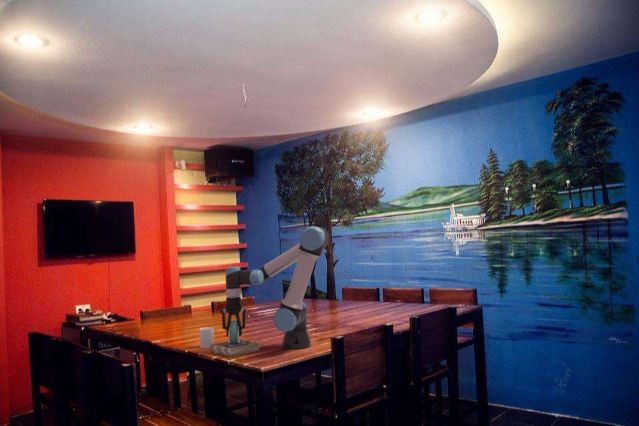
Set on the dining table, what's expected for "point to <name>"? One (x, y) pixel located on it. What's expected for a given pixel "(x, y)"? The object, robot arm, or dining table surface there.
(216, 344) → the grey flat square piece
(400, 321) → the dining table surface
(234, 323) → the peg
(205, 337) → the white cup
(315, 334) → the dining table surface
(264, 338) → the dining table surface
